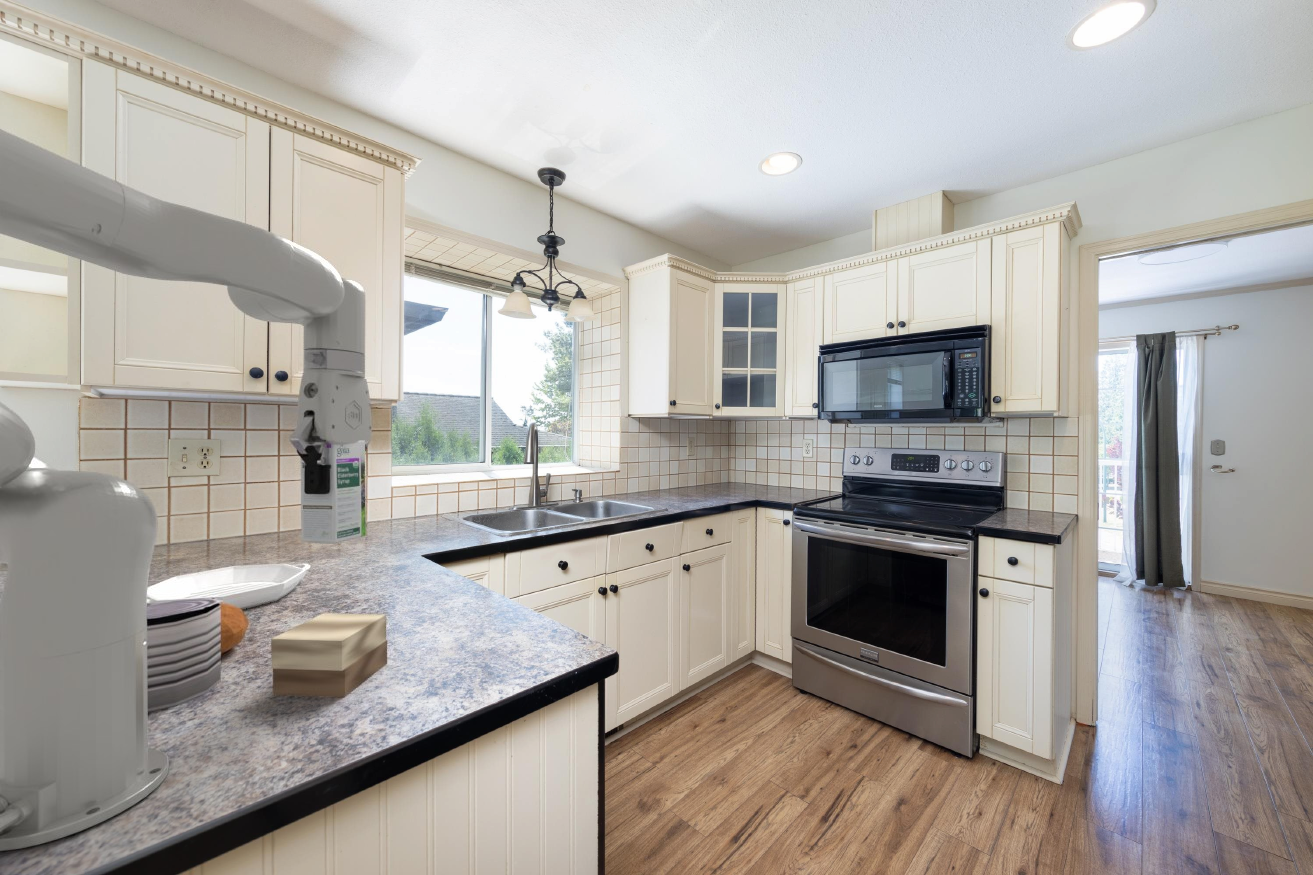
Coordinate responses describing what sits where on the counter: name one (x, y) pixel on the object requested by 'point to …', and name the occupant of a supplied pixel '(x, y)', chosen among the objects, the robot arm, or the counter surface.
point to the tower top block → (328, 642)
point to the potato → (232, 626)
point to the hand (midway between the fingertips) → (334, 490)
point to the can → (182, 650)
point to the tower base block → (329, 677)
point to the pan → (231, 585)
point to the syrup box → (337, 498)
